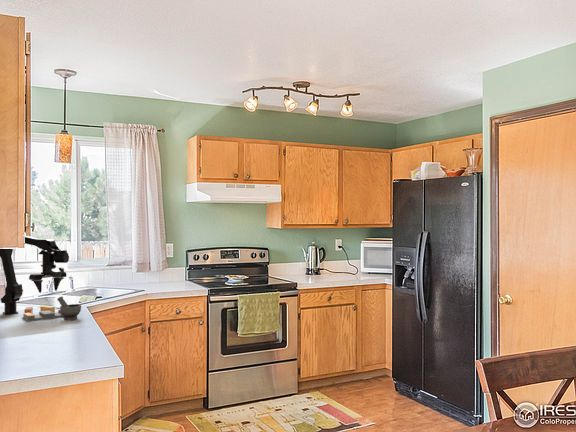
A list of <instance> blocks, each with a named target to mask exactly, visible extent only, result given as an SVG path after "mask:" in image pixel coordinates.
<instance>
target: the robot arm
mask: <svg viewBox="0 0 576 432" xmlns="http://www.w3.org/2000/svg"><path fill="white" fill-rule="evenodd" d="M24 236H25V243H24V245H25V244H26V245H30V246H35V247H37V248H38V249H40V250H41V251H39V252H38V255H42V258H41V259H42V263H41V264H40V267H41V268H42V272H40V273H32V274H30V275H28V279H29V281H31V282H33V283H34V286H35V287H36V289H37V291H38V293H40V294H41V293H42V285H43V284H42V283H43V281H44V280H43V279H45V278H53V279H52V281H53V287H54V291H56V292H57V291H58V288H59V286H60V283H61V281H62V280H64V279H65V278H66V277H67V272H66V271H65V268H64V267H57V265H56V264H67V263H68V262H69V261H70V255H69V253H68V251H67V249H62V250H61V249H60V248H59V247H58V245H57V243H56V241H55V240H54V239H53V238H50V239H49V238H48V239H47V238H36V237H32V236H27V235H24ZM13 252H14V248H13V249H0V259H1V264H2V269H3V272H4V277H5V283H6V284H5V289H4V295H3V296H2V297H1V298H0V302H1V304H4V305H3V306H4V311H2V314H3V313H4V315H12V314H14V313H15V314H19V311H17V302H19V301H20V300H21V297H22V296H23V294H24V293H23V292H24V290H23V284H22V283H20V284H19V283H18V281H17V277H16V273H15V266H14V263H13V258H12V256H13Z"/></svg>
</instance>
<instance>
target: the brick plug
mask: <svg viewBox="0 0 576 432" xmlns="http://www.w3.org/2000/svg"><path fill="white" fill-rule="evenodd" d="M33 309H34V307H33V306H27V307H25V308H24V312H23V313H32V314H33V313H34V310H33ZM33 315H34V314H33Z"/></svg>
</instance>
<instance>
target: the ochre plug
mask: <svg viewBox="0 0 576 432" xmlns="http://www.w3.org/2000/svg"><path fill="white" fill-rule="evenodd" d="M39 309H40V310H39V311H48V310H50V311H52V312H54V313H56V308H55V306H53V305H50V306H49V305H41V306H40V308H39Z"/></svg>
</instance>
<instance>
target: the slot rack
mask: <svg viewBox="0 0 576 432" xmlns="http://www.w3.org/2000/svg"><path fill="white" fill-rule="evenodd" d="M22 316H23V317H22V318H23V319H24V320H25V321H27V322H31V321H41V319H43V320H50V318H51V319H59V317H60V318H64V316H63V315H62V314H61V311H60V308H59V309H58V311H57V312H55V313H54V312H52V311H50V310H48V311H40V310H39V313H38V314H32V313H24V312H23V314H22Z"/></svg>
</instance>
